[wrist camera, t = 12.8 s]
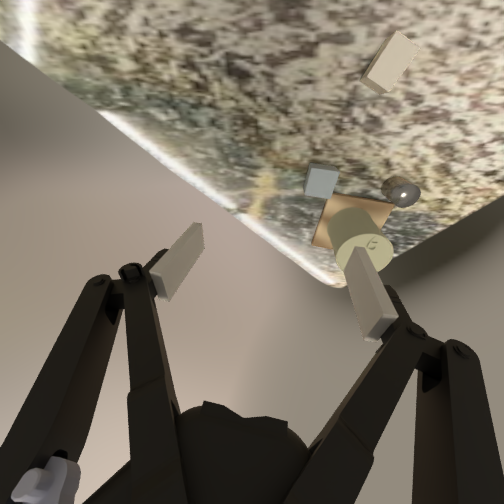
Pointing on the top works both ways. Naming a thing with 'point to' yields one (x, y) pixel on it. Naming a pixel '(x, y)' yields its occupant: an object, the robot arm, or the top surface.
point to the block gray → (320, 180)
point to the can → (358, 237)
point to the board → (341, 201)
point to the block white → (390, 63)
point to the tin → (400, 191)
